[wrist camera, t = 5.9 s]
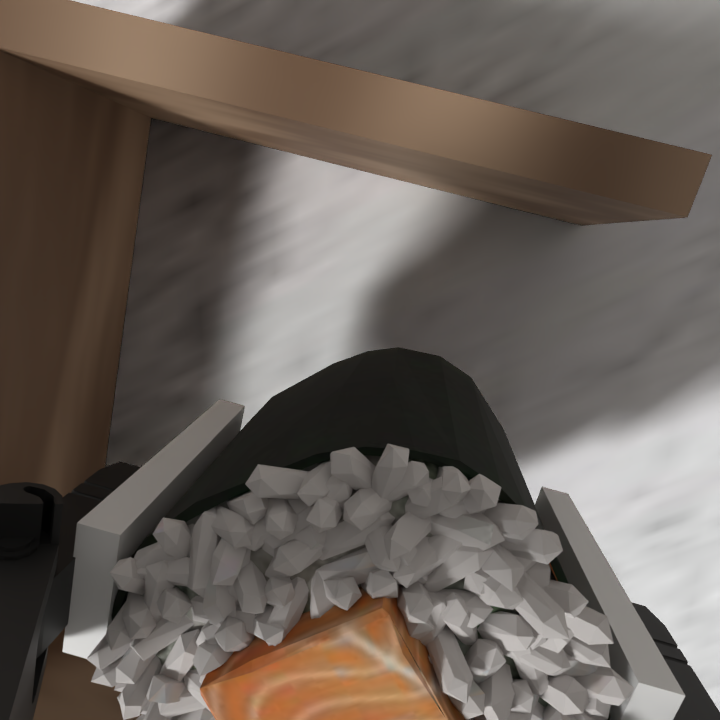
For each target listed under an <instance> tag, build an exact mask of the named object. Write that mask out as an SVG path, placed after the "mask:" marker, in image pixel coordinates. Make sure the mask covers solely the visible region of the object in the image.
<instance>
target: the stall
mask: <svg viewBox="0 0 720 720" xmlns="http://www.w3.org/2000/svg"><path fill="white" fill-rule="evenodd" d="M151 118H154V119H158V120H162V121H166V122H170V123H174V124H178V125H182V126H186V127H190V128H194V129H198V130H202V131H206V132H210V133H213V134H217V135H221V136H225V137H229V138H233V139H237V140H241V141H245V142H249V143H253V144H257V145H261V146H265V147H269V148H273V149H277V150H281V151H285V152H289V153H293V154H297V155H301V156H305V157H309V158H313V159H317V160H321V161H325V162H329V163H333V164H337V165H341V166H345V167H349V168H353V169H357V170H361V171H365V172H369V173H373V174H377V175H381V176H385V177H389V178H393V179H397V180H401V181H405V182H409V183H413V184H417V185H421V186H425V187H429V188H433V189H437V190H441V191H445V192H449V193H453V194H457V195H461V196H465V197H469V198H473V199H477V200H481V201H485V202H489V203H493V204H497V205H501V206H505V207H509V208H513V209H517V210H521V211H525V212H529V213H533V214H537V215H541V216H545V217H549V218H553V219H557V220H561V221H565V222H569V223H573V224H577V225H594V224H607V223H620V222H633V221H646V220H659V219H672V218H685V217H688V215H689V212H690V210H691V207H692V205H693V202H694V199H695V197H696V194H697V192H698V189H699V187H700V184H701V182H702V179H703V177H704V174H705V172H706V169H707V166H708V164H709V161H710V159H711V156H712V155H711V154H707V153H702V152H698V151H694V150H690V149H686V148H682V147H677V146H673V145H669V144H665V143H661V142H657V141H652V140H648V139H644V138H640V137H636V136H632V135H628V134H623V133H619V132H615V131H611V130H607V129H603V128H598V127H594V126H590V125H586V124H582V123H578V122H574V121H569V120H565V119H561V118H557V117H553V116H549V115H544V114H540V113H536V112H532V111H528V110H524V109H519V108H515V107H511V106H507V105H503V104H499V103H495V102H490V101H486V100H482V99H478V98H474V97H470V96H465V95H461V94H457V93H453V92H449V91H445V90H441V89H436V88H432V87H428V86H424V85H420V84H416V83H411V82H407V81H403V80H399V79H395V78H391V77H386V76H382V75H378V74H374V73H370V72H366V71H362V70H357V69H353V68H349V67H345V66H341V65H337V64H332V63H328V62H324V61H320V60H316V59H312V58H307V57H303V56H299V55H295V54H291V53H287V52H283V51H278V50H274V49H270V48H266V47H262V46H258V45H253V44H249V43H245V42H241V41H237V40H233V39H229V38H224V37H220V36H216V35H212V34H208V33H204V32H199V31H195V30H191V29H187V28H183V27H179V26H174V25H170V24H166V23H162V22H158V21H154V20H150V19H145V18H141V17H137V16H133V15H129V14H125V13H120V12H116V11H112V10H108V9H104V8H100V7H96V6H91V5H87V4H83V3H79V2H75V1H71V0H0V485H4V484H8V483H20V482H31V483H38V484H44V485H47V486H49V487H52V488H54V489H56V490H57V491H58V492H59V493H60V494H61V495H62V498H63V497H64V496H65V495H66V494H68V493H71V492H72V490H73V489H74V488H76V487H77V486H78V485H80V484H81V483H84V481H85V480H86V479H88V478H89V477H90V476H91V475H93V474H94V473H95V472H97V471H98V470H99V469H102V468H105V463H106V455H107V447H108V440H109V432H110V425H111V417H112V410H113V402H114V395H115V387H116V380H117V372H118V364H119V357H120V349H121V342H122V334H123V327H124V319H125V312H126V304H127V297H128V289H129V281H130V274H131V266H132V259H133V251H134V244H135V236H136V229H137V221H138V214H139V206H140V199H141V191H142V183H143V176H144V168H145V161H146V153H147V146H148V138H149V131H150V123H151ZM64 634H65V628H64V629H63V630H62V632H61V633H60V634H59V635H58V636H57V637H56V638H55V639H54V641H53V642H52V643H51V644H50V645H49V646H48V653H47V663H46V668H45V672H44V676H43V680H42V684H41V688H40V692H39V696H38V701H37V705H36V709H35V713H34V717H33V720H123V716H122V712H121V707H120V703H119V701H118V699H117V697H118V696H119V695H120V693H121V692H119V691H116V690H114V689H115V686H116V685H115V686H114V687H109V686H105V685H102V684H98V683H94V682H91V680H92V677H93V675H94V672H95V670H96V666H95V665H93V664H92V663H91V662H89V661H88V660H87V659H85V658H82V657H78V656H75V655H71V654H68V653H65V652H62V651H63V642H64ZM141 715H142V714H140V716H141ZM138 717H139V716H138ZM138 717H134V718H130V719H126V720H136V719H137V718H138Z"/></svg>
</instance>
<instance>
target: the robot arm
mask: <svg viewBox="0 0 720 720" xmlns="http://www.w3.org/2000/svg"><path fill="white" fill-rule="evenodd" d="M244 408H245V406H243V405H239V404H236V403H232V402H228V401H225V400H221V399H219V400H218V401H217V402H216V403H215V404H214V405H212V406H211V407H210V408H209V409H208V410H207V411H206V412H204V413H203V414H202V415H201V416H200V417H199V418H197V419H196V420H195V421H194V422H193V423H192V424H191V425H189V426H188V427H187V428H186V429H185V430H184V431H182V432H181V433H180V434H179V435H178V436H177V437H176V438H174V439H173V440H172V441H171V442H170V443H169V444H167V445H166V446H165V447H164V448H163V449H162V450H161V451H159V452H158V453H157V454H156V455H155V456H154V457H152V458H151V459H150V460H149V461H148V462H147V463H146V464H144V465H143V466H142V467H137V466H134V465H130V464H127V463H123V462H119V463H116V464H113V465H111V466H108V467H105V468H102V469H99V470H98V471H97V472H95V473H94V474H93V475H91V476H90V477H89V478H88V479H86V480H85V481H84V483H81V484H80V485H78V486H77V487H76V488H74V489H73V490H72V492H71V493H68V494H66V495H65V496H64V497H63V498H62V495H61V494H60V493H59V492H58V491H57V490H56V489H54V488H52V487H49V486H47V485H44V484H38V483H31V482H20V483H8V484H4V485H0V720H33V717H34V713H35V709H36V705H37V701H38V696H39V692H40V688H41V684H42V680H43V676H44V672H45V668H46V663H47V653H48V646H49V645H50V644H51V643H52V642H53V641H54V639H55V638H56V637H57V636H58V635H59V634H60V633H61V632H62V630H63V629H64V628H65V634H64V642H63V651H62V652H65V653H68V654H71V655H75V656H78V657H82V658H85V659H87V657H88V656H89V655H90V654H91V652H92V651H93V650H94V649H95V647H96V646H97V645H98V643H99V642H100V641H101V640H102V638H103V637H104V636H105V635H106V631H107V628H108V626H109V625H110V624H111V622H112V610H113V603H114V600H115V597H116V594H117V591H118V587H117V585H116V583H115V582H114V580H113V578H112V576H111V574H110V572H111V570H112V569H113V568H114V566H115V565H116V564H117V562H118V561H119V560H122V559H126V558H130V557H131V556H132V555H133V554H134V552H135V551H136V550H137V548H138V547H139V546H140V544H141V543H142V542H143V540H144V539H145V538H146V537H147V536H148V535H149V534H150V532H151V531H152V530H153V529H154V528H155V527H156V526H157V525H158V523H159V522H160V521H161V519H162V518H163V517H165V516H166V514H167V513H168V512H169V511H170V510H171V509H172V508H173V507H174V505H175V504H176V503H177V502H178V501H179V500H180V499H181V498H182V496H183V495H184V494H185V493H186V492H187V491H188V490H189V489H190V487H191V486H192V485H193V484H194V483H195V482H196V481H197V479H198V478H199V477H200V476H201V475H202V474H203V473H204V472H205V470H206V469H207V468H208V467H209V466H210V465H211V464H212V463H213V461H214V460H215V459H216V458H217V457H218V456H219V455H220V454H221V452H222V451H223V450H224V449H225V448H226V447H227V446H228V445H229V443H230V442H231V441H232V440H233V439H234V438H235V437H236V436H237V434H238V433H239V432H240V428H241V423H242V418H243V413H244ZM535 507H536V510H537V512H538V515H539V517H540V519H541V522H542V524H543V527H544V529H545V530H547V531H552V532H554V533H556V534H557V535H558V536H559V539H560V542H561V545H562V549H563V551H562V552H561V553H560V554H559V555H558V556H557V558H558V560H559V562H560V565H561V567H562V569H563V572H564V574H565V576H566V579H567V581H568V583H569V584H572V585H573V586H574V587H575V588H576V589H577V590H578V591H579V592H580V593H581V594H582V595H583V596H584V597H585V598H586V599H587V600H588V601H589V602H588V603H587V605H586V606H587V607H589V608H591V609H593V610H595V611H597V612H599V613H601V614H603V615H606V616H607V617H608V621H609V626H610V630H611V634H612V638H613V642H614V644H608V649H609V657H610V665H611V668H612V669H613V670H614V671H615V672H616V673H618V674H619V675H620V676H621V677H622V678H623V679H625V680H626V681H627V682H628V683H629V684H631V685H632V686H633V687H634V689H633V691H632V694H631V696H630V697H629V698H628V699H627V700H626V701H624V702H623V703H622V704H621V705H619V706H617V705H611V707H610V714H611V717H610V720H720V712H719V710H718V709H717V707H716V706H715V704H714V703H713V701H712V699H711V698H710V696H709V695H708V693H707V691H706V690H705V688H704V687H703V685H702V684H701V682H700V680H699V679H698V677H697V676H696V674H695V672H694V671H693V669H692V668H691V666H689V665H687V663H688V661H687V660H686V658H685V657H684V655H683V653H682V652H681V650H680V649H677V644H676V642H675V641H674V639H673V638H672V636H671V634H670V633H669V631H668V630H667V628H666V627H665V625H664V624H663V623H662V622H661V621H660V620H659V619H658V618H657V617H656V616H655V615H654V614H653V613H652V612H651V611H650V610H649V609H647V608H646V607H645V606H642V605H639V604H635V603H632V602H631V601H630V599H629V598H628V596H627V594H626V593H625V591H624V589H623V587H622V586H621V584H620V582H619V580H618V579H617V577H616V575H615V574H614V572H613V570H612V568H611V567H610V565H609V563H608V562H607V560H606V558H605V556H604V555H603V553H602V551H601V549H600V548H599V546H598V544H597V543H596V541H595V539H594V537H593V536H592V534H591V532H590V531H589V529H588V527H587V525H586V524H585V522H584V520H583V518H582V517H581V515H580V513H579V512H578V510H577V508H576V506H575V505H574V503H573V501H572V500H571V498H570V496H569V494H567V493H563V492H560V491H556V490H552V489H549V488H545V487H542V488H541V490H540V493H539V496H538V498H537V501H536V503H535Z"/></svg>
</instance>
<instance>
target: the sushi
mask: <svg viewBox="0 0 720 720" xmlns="http://www.w3.org/2000/svg"><path fill="white" fill-rule="evenodd" d="M562 551H563V549H562V545H561V542H560V539H559V536H558V535H557V534H556V533H554V532H552V531H547V530H545V529H544V527H543V524H542V522H541V519H540V517H539V515H538V512H537V510H536V507H535V505H534V502H533V500H532V498H531V495H530V493H529V490H528V488H527V485H526V483H525V480H524V478H523V476H522V473H521V471H520V468H519V466H518V463H517V461H516V459H515V456H514V454H513V451H512V449H511V446H510V444H509V441H508V439H507V437H506V434H505V432H504V430H503V428H502V426H501V425H500V423H499V422H498V420H497V418H496V417H495V415H494V413H493V412H492V410H491V409H490V407H489V405H488V404H487V402H486V401H485V399H484V397H483V396H482V394H481V393H480V391H479V389H478V388H477V386H476V384H475V383H474V381H473V380H472V378H471V377H469V376H468V375H466V374H465V373H464V372H462V371H461V370H459V369H458V368H456V367H455V366H453V365H452V364H451V363H449V362H448V361H446V360H445V359H443V358H442V357H440V356H436V355H431V354H427V353H422V352H417V351H413V350H408V349H403V348H399V347H398V348H390V349H382V350H374V351H367V352H365V353H362V354H359V355H356V356H354V357H351V358H348V359H345V360H342V361H340V362H337V363H334V364H332V365H330V366H328V367H326V368H325V369H323V370H321V371H319V372H317V373H315V374H314V375H312V376H310V377H308V378H306V379H304V380H303V381H301V382H299V383H297V384H295V385H293V386H292V387H290V388H288V389H286V390H284V391H282V392H281V393H279V394H277V395H275V396H273V397H272V398H271V399H270V400H269V401H268V402H267V403H266V404H265V405H264V406H263V407H262V408H261V409H260V410H259V411H258V413H257V414H256V415H255V416H254V417H253V418H252V419H251V420H250V421H249V422H248V423H247V424H246V425H245V427H244V428H243V429H242V430H241V431H240V432H239V433H238V434H237V436H236V437H235V438H234V439H233V440H232V441H231V442H230V443H229V445H228V446H227V447H226V448H225V449H224V450H223V451H222V452H221V454H220V455H219V456H218V457H217V458H216V459H215V460H214V461H213V463H212V464H211V465H210V466H209V467H208V468H207V469H206V470H205V472H204V473H203V474H202V475H201V476H200V477H199V478H198V479H197V481H196V482H195V483H194V484H193V485H192V486H191V487H190V489H189V490H188V491H187V492H186V493H185V494H184V495H183V496H182V498H181V499H180V500H179V501H178V502H177V503H176V504H175V505H174V507H173V508H172V509H171V510H170V511H169V512H168V513H167V514H166V516H165V517H163V518H162V519H161V521H160V522H159V523H158V525H157V526H156V527H155V528H154V529H153V530H152V531H151V532H150V534H149V535H148V536H147V537H146V538H145V539H144V540H143V542H142V543H141V544H140V546H139V547H138V548H137V550H136V551H135V552H134V554H133V555H132V556H131V557H130V558H126V559H122V560H119V561H118V562H117V564H116V565H115V566H114V568H113V569H112V570H111V572H110V574H111V576H112V578H113V580H114V582H115V583H116V585H117V587H118V591H117V594H116V597H115V600H114V603H113V610H112V622H111V624H110V625H109V626H108V628H107V631H106V635H105V636H104V637H103V638H102V640H101V641H100V642H99V643H98V645H97V646H96V647H95V649H94V650H93V651H92V652H91V654H90V655H89V656H88V657H87V660H88V661H89V662H91V663H92V664H93V665H95V666H96V670H95V672H94V675H93V677H92V680H91V682H94V683H98V684H102V685H105V686H109V687H114V686H115V685H116V686H115V689H114V690H116V691H119V692H121V693H120V695H119V696H118V697H117V699H118V701H119V703H120V707H121V712H122V716H123V720H126V719H130V718H134V717H138V716H139V717H138V718H137V719H136V720H610V717H611V714H610V707H611V705H617V706H619V705H621V704H622V703H623V702H624V701H626V700H627V699H628V698H629V697H630V696H631V694H632V691H633V689H634V687H633V686H632V685H631V684H629V683H628V682H627V681H626V680H625V679H623V678H622V677H621V676H620V675H619V674H618V673H616V672H615V671H614V670H613V669H612V668H611V665H610V657H609V649H608V644H614V642H613V638H612V634H611V630H610V626H609V621H608V617H607V616H606V615H603V614H601V613H599V612H597V611H595V610H593V609H591V608H589V607H587V606H586V605H587V603H588V602H589V601H588V600H587V599H586V598H585V597H584V596H583V595H582V594H581V593H580V592H579V591H578V590H577V589H576V588H575V587H574V586H573V585H572V584H569V583H568V581H567V579H566V576H565V574H564V572H563V569H562V567H561V565H560V562H559V560H558V558H557V556H558V555H559V554H560V553H561V552H562ZM140 714H142V715H141V716H140Z"/></svg>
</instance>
